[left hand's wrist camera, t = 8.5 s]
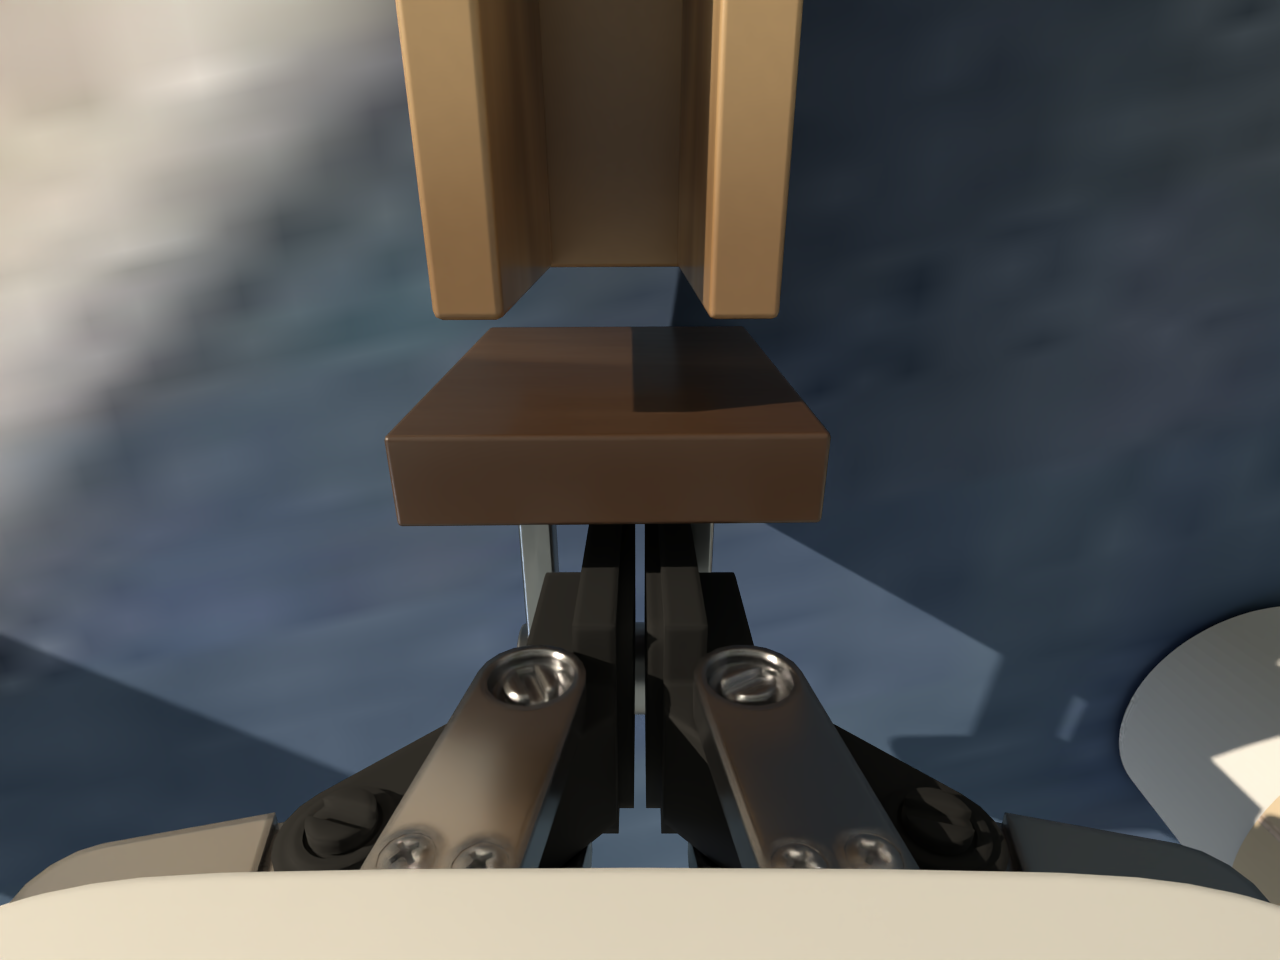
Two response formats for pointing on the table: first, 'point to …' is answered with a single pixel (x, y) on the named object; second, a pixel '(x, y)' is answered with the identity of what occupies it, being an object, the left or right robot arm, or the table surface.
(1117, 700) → the table surface
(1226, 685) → the coffee cup
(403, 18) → the drawer
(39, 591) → the table surface
